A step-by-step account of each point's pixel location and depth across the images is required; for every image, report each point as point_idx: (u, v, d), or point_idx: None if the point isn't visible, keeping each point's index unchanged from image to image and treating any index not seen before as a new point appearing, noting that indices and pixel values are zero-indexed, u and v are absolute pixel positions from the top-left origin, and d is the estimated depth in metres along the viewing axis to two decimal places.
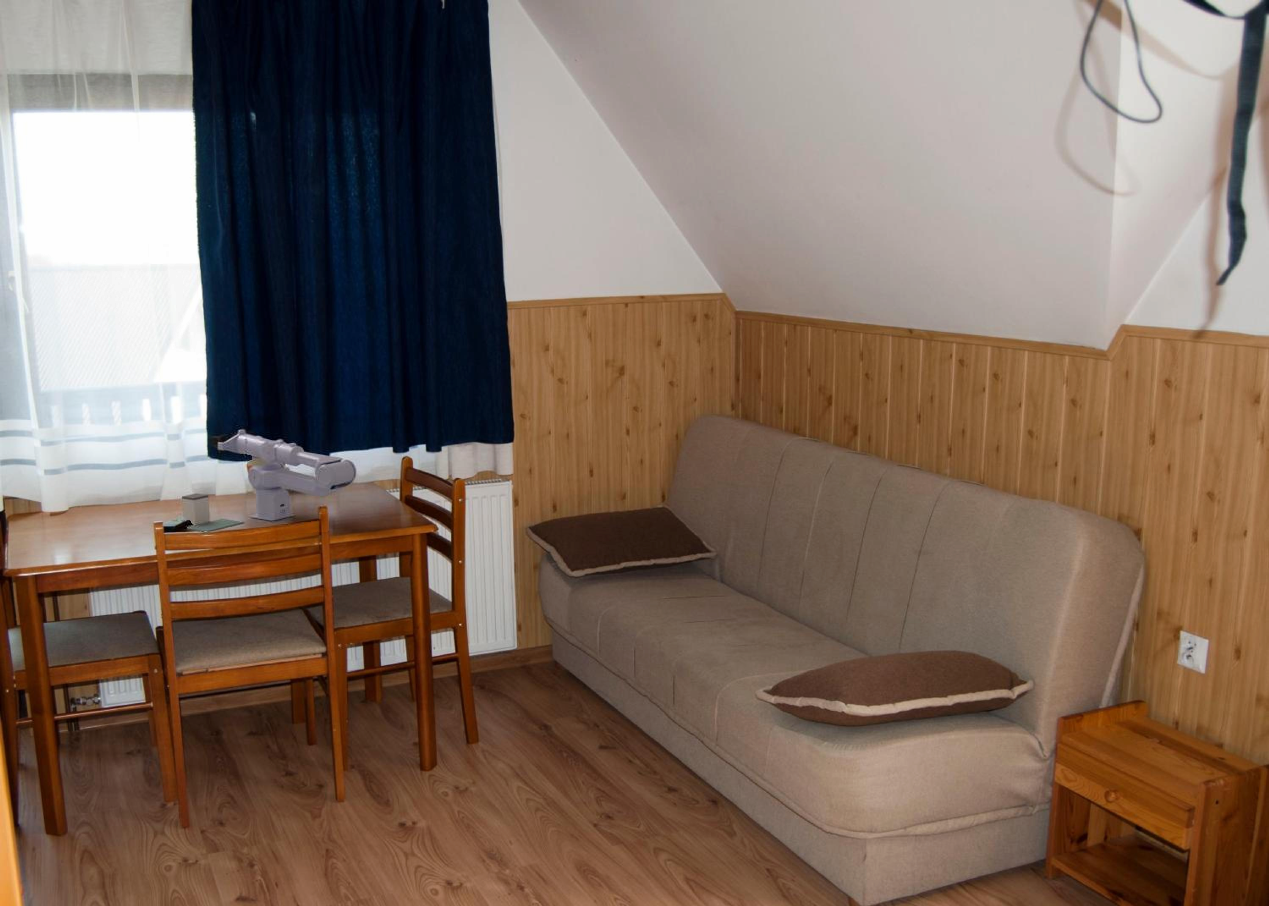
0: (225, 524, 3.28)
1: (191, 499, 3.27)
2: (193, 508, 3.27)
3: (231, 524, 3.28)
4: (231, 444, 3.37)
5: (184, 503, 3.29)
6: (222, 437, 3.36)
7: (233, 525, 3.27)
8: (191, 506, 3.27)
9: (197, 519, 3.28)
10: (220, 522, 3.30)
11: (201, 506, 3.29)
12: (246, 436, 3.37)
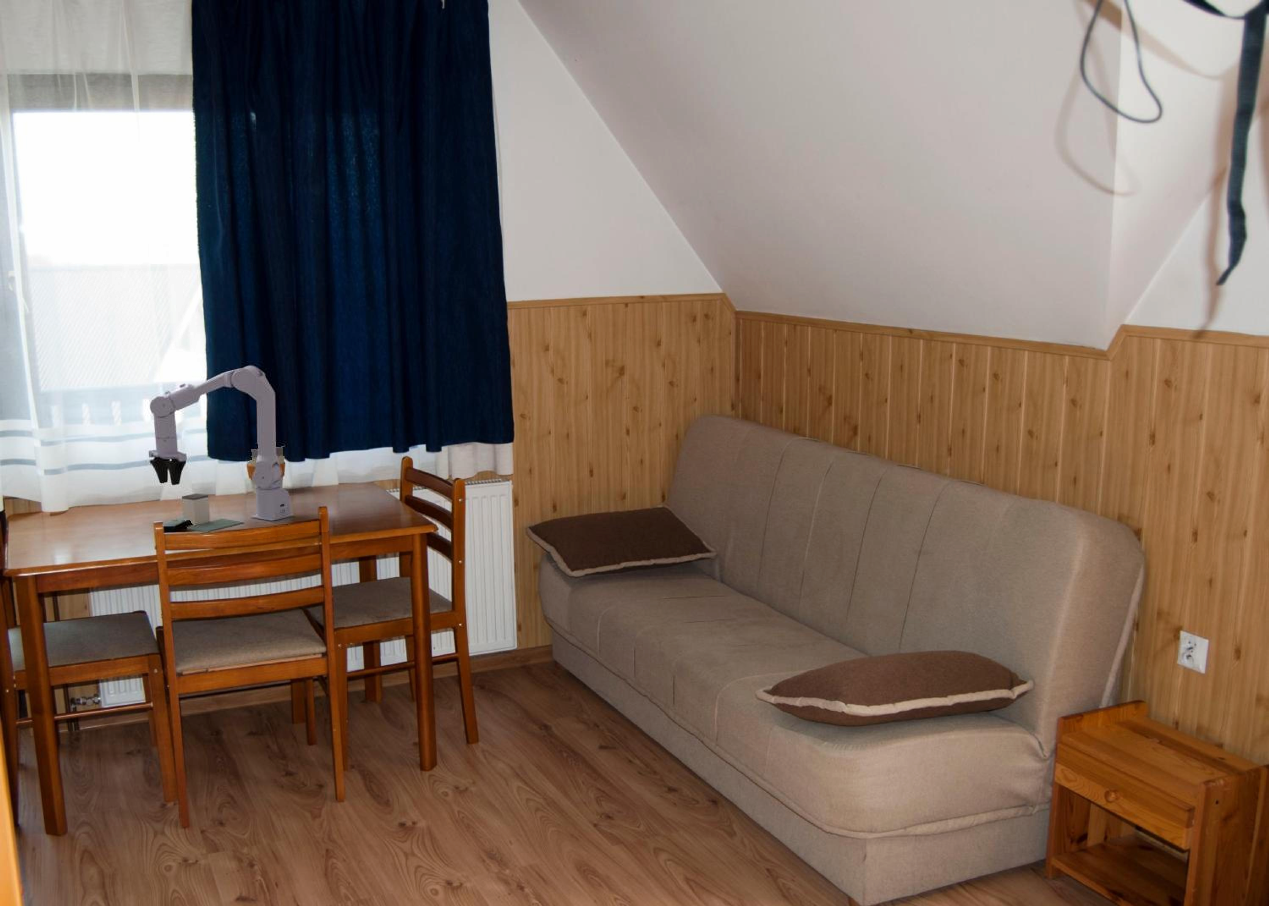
0: (225, 524, 3.28)
1: (191, 499, 3.27)
2: (193, 508, 3.27)
3: (231, 524, 3.28)
4: (175, 454, 3.32)
5: (184, 503, 3.29)
6: (170, 461, 3.30)
7: (233, 525, 3.27)
8: (191, 506, 3.27)
9: (197, 519, 3.28)
10: (220, 522, 3.30)
11: (201, 506, 3.29)
12: (160, 444, 3.31)
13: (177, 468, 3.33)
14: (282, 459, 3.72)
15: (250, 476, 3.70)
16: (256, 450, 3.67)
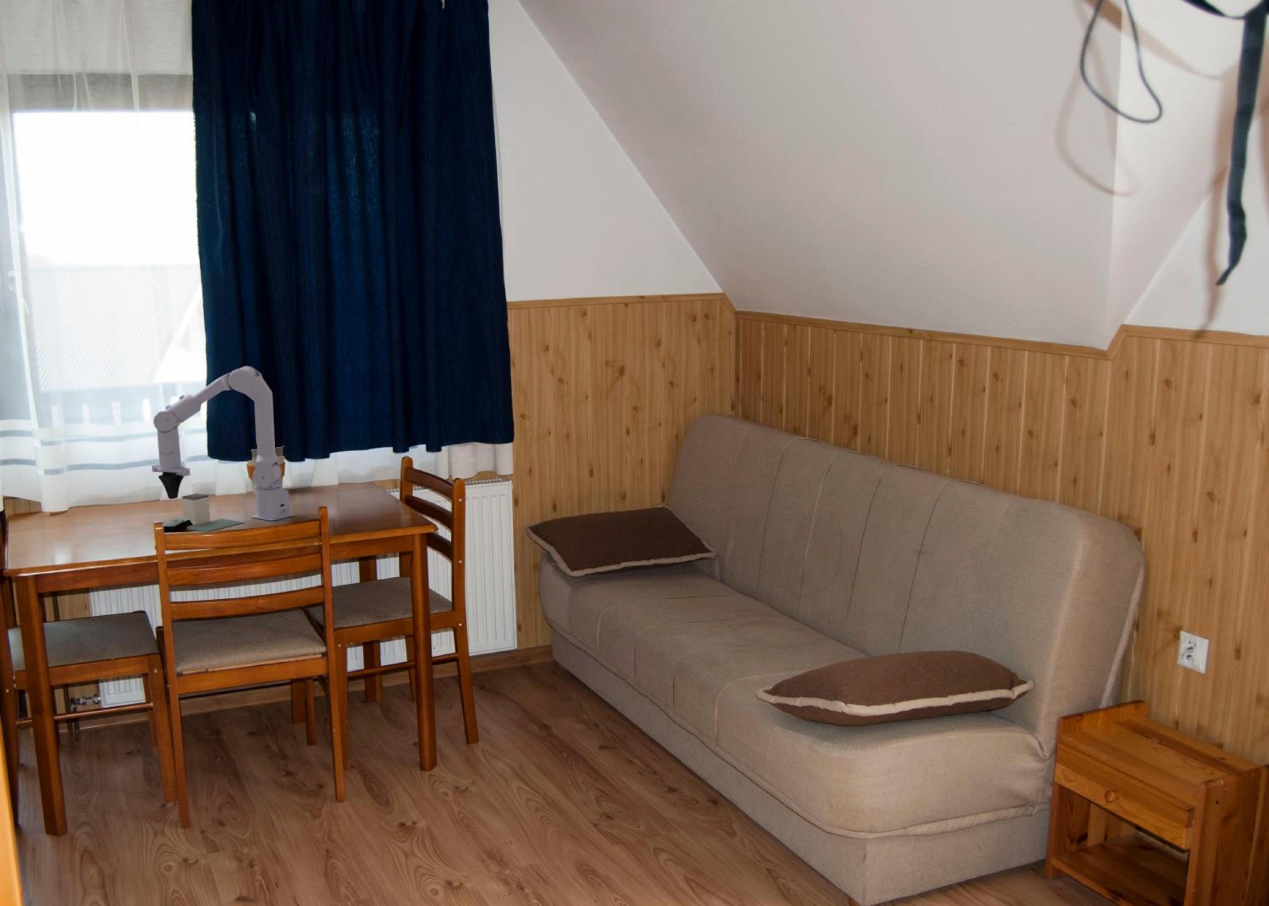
0: (225, 524, 3.28)
1: (191, 499, 3.27)
2: (193, 508, 3.27)
3: (231, 524, 3.28)
4: (178, 469, 3.32)
5: (184, 503, 3.29)
6: (168, 476, 3.31)
7: (233, 525, 3.27)
8: (191, 506, 3.27)
9: (197, 519, 3.28)
10: (220, 522, 3.30)
11: (201, 506, 3.29)
12: (163, 459, 3.31)
13: (175, 482, 3.35)
14: (282, 459, 3.72)
15: (250, 476, 3.70)
16: (256, 450, 3.67)
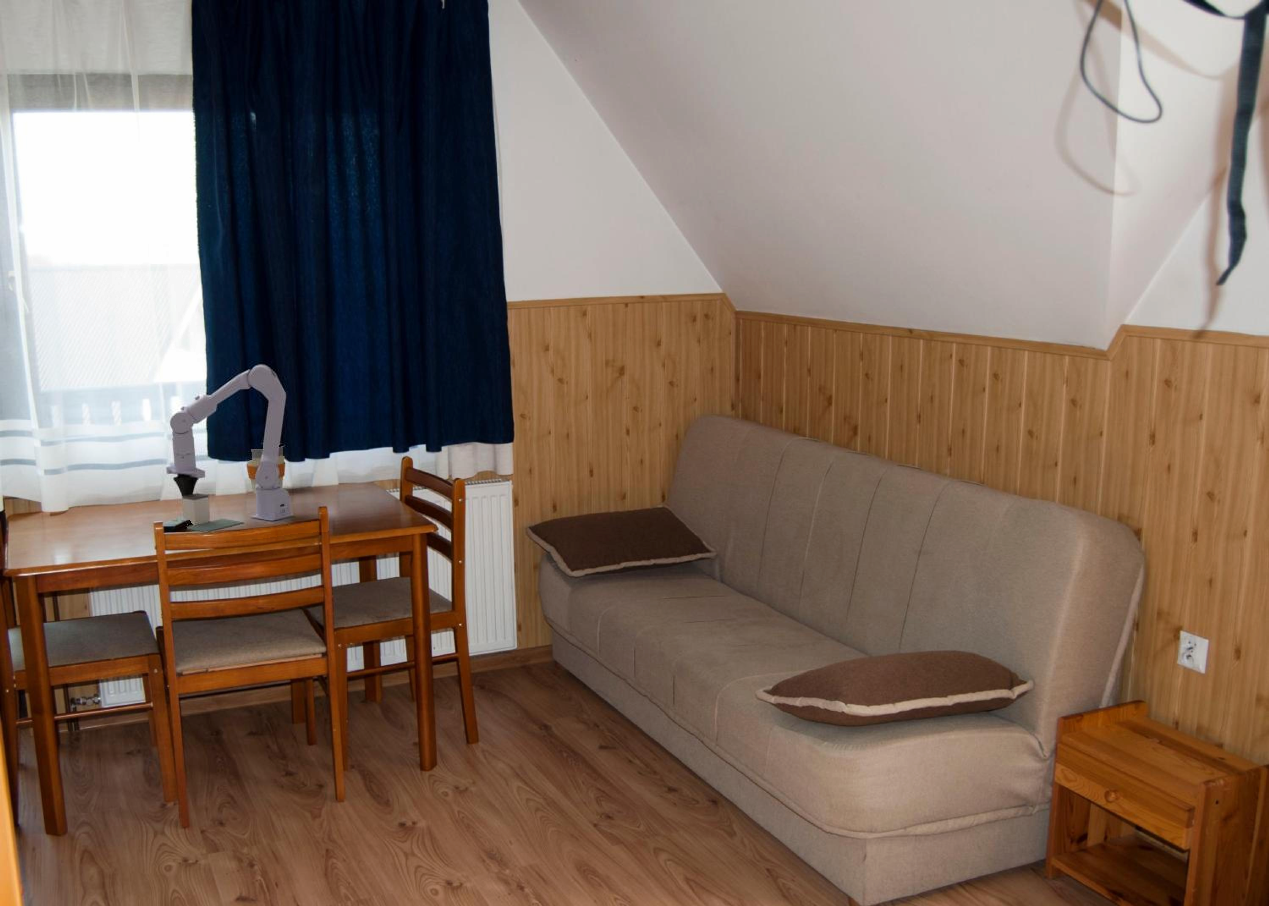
0: (225, 524, 3.28)
1: (191, 499, 3.27)
2: (193, 508, 3.27)
3: (231, 524, 3.28)
4: (193, 471, 3.28)
5: (185, 502, 3.29)
6: (183, 477, 3.28)
7: (233, 525, 3.27)
8: (191, 506, 3.27)
9: (197, 519, 3.28)
10: (220, 522, 3.30)
11: (201, 506, 3.29)
12: (178, 460, 3.27)
13: (190, 484, 3.31)
14: (282, 459, 3.72)
15: (250, 476, 3.70)
16: (256, 450, 3.67)
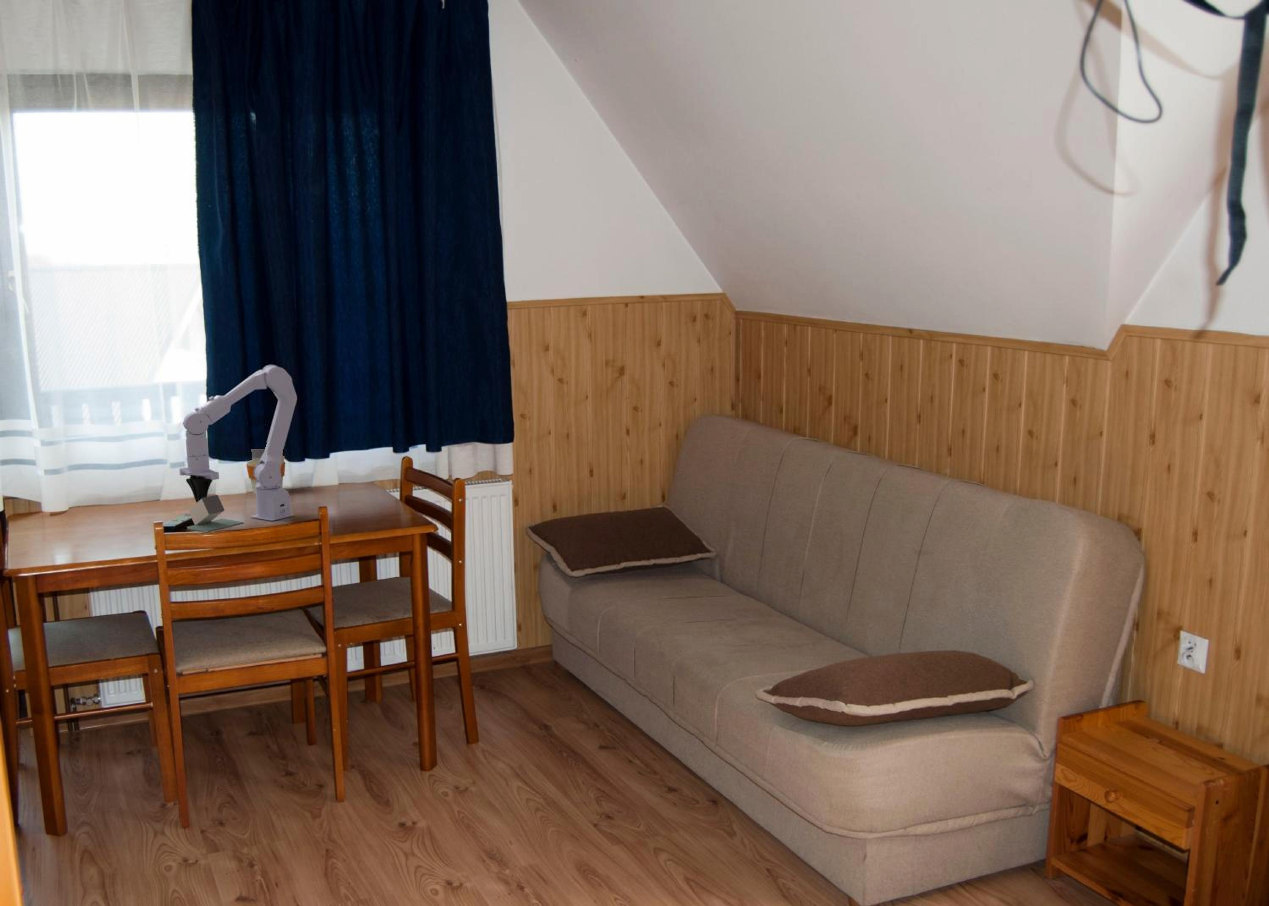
0: (225, 524, 3.28)
1: (207, 511, 3.24)
2: (204, 517, 3.25)
3: (231, 524, 3.28)
4: None
5: (200, 504, 3.25)
6: (197, 479, 3.25)
7: (233, 525, 3.27)
8: (204, 514, 3.25)
9: (201, 522, 3.28)
10: (220, 522, 3.30)
11: (212, 516, 3.27)
12: (192, 462, 3.24)
13: (204, 486, 3.28)
14: (282, 459, 3.72)
15: (250, 476, 3.70)
16: (256, 450, 3.67)
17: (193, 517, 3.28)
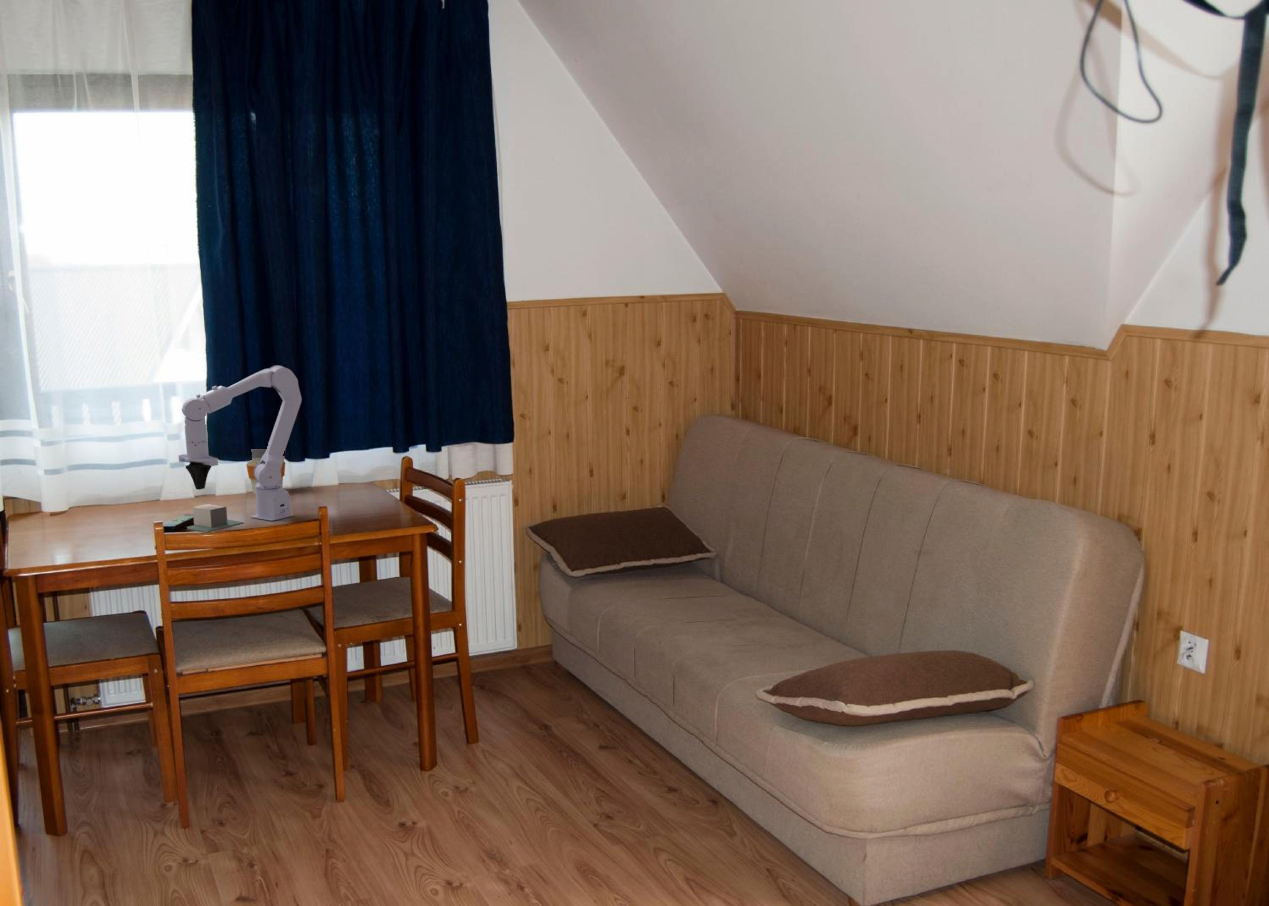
0: None
1: (211, 524, 3.24)
2: (205, 525, 3.25)
3: (231, 524, 3.28)
4: (206, 458, 3.25)
5: (207, 513, 3.24)
6: (196, 465, 3.24)
7: (233, 525, 3.27)
8: (206, 523, 3.25)
9: None
10: None
11: None
12: (191, 448, 3.24)
13: (202, 472, 3.28)
14: (282, 459, 3.72)
15: (250, 476, 3.70)
16: (256, 450, 3.67)
17: (195, 517, 3.27)
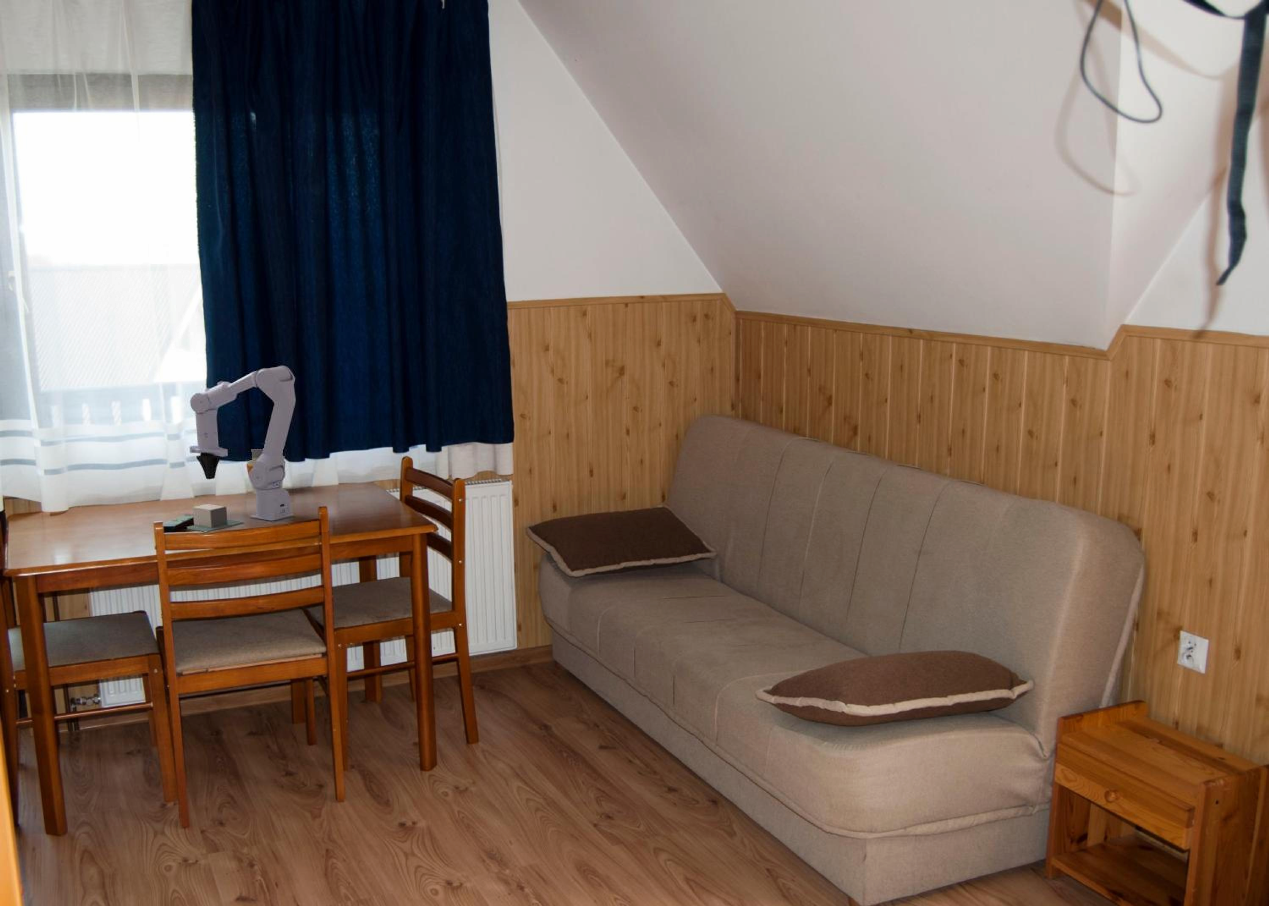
0: None
1: (211, 524, 3.24)
2: (205, 525, 3.25)
3: (231, 524, 3.28)
4: (216, 449, 3.39)
5: (207, 513, 3.24)
6: (206, 456, 3.38)
7: (233, 525, 3.27)
8: (206, 523, 3.25)
9: None
10: None
11: None
12: (202, 440, 3.38)
13: (212, 463, 3.42)
14: None
15: None
16: (256, 450, 3.67)
17: (195, 517, 3.27)
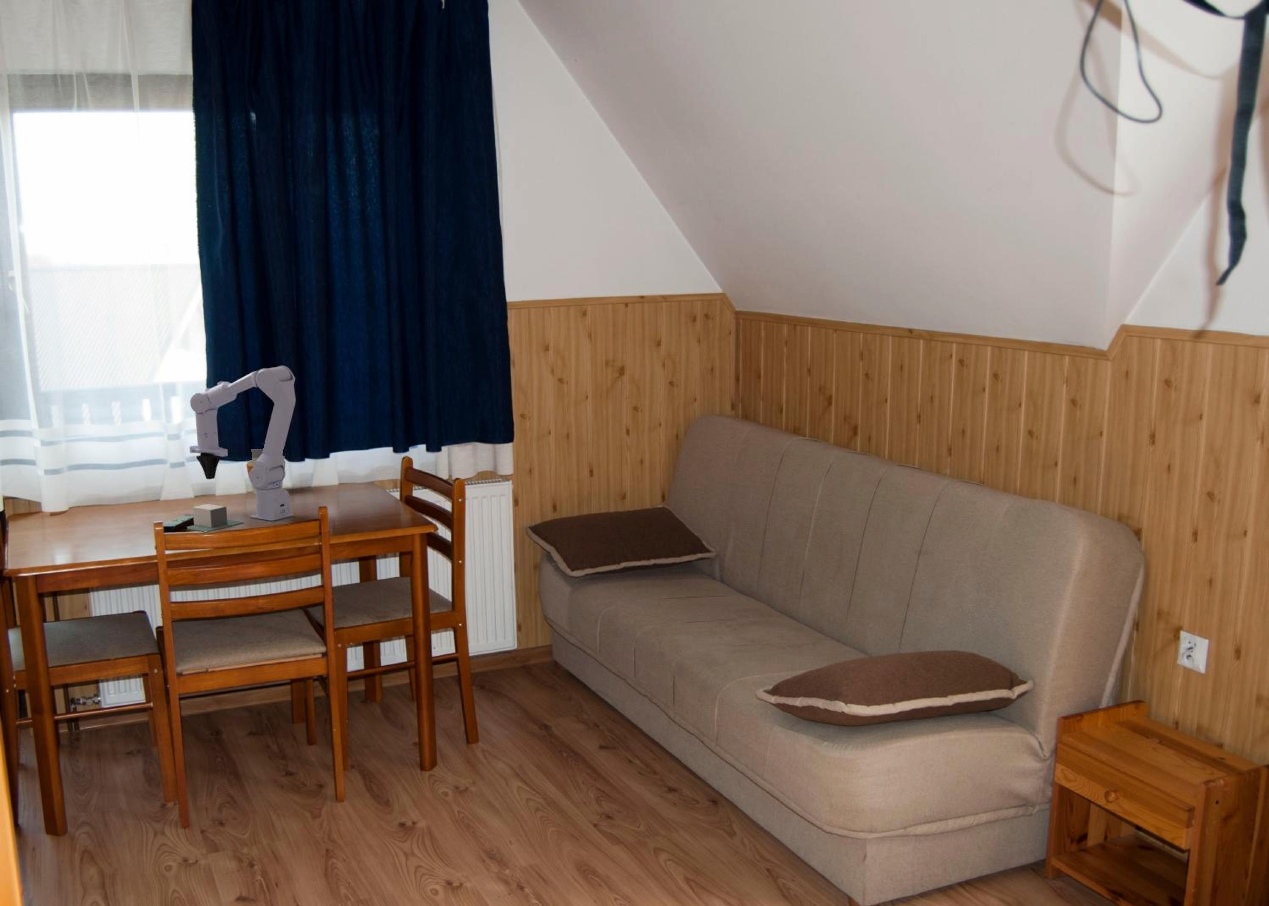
0: None
1: (211, 524, 3.24)
2: (205, 525, 3.25)
3: (231, 524, 3.28)
4: (216, 449, 3.39)
5: (207, 513, 3.24)
6: (206, 456, 3.38)
7: (233, 525, 3.27)
8: (206, 523, 3.25)
9: None
10: None
11: None
12: (202, 440, 3.38)
13: (212, 463, 3.42)
14: None
15: None
16: (256, 450, 3.67)
17: (195, 517, 3.27)
